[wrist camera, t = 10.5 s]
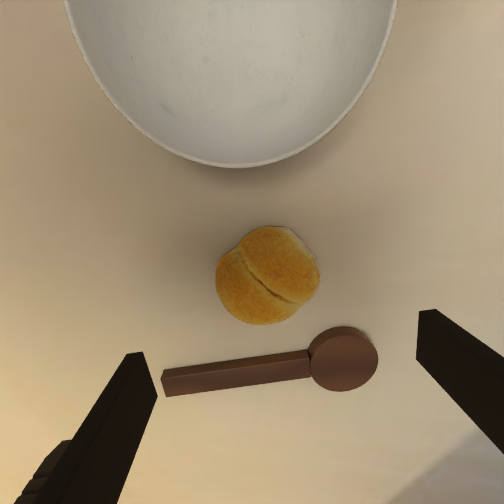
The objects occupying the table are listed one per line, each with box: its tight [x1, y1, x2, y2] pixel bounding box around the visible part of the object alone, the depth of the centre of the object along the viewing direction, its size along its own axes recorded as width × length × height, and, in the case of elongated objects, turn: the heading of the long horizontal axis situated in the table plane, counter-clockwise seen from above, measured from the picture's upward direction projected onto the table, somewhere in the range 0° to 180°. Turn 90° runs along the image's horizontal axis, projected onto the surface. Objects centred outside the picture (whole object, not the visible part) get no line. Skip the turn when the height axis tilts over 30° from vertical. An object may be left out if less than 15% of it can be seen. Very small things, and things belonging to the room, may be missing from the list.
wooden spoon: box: [161, 327, 378, 397], centre depth 26 cm, size 7×22×1 cm, turn 98°
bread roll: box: [215, 226, 320, 325], centre depth 22 cm, size 8×9×4 cm
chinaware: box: [63, 0, 398, 168], centre depth 15 cm, size 15×15×8 cm
